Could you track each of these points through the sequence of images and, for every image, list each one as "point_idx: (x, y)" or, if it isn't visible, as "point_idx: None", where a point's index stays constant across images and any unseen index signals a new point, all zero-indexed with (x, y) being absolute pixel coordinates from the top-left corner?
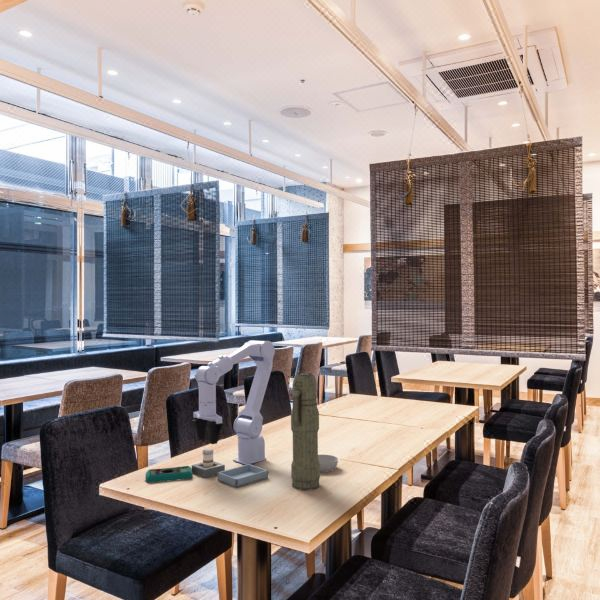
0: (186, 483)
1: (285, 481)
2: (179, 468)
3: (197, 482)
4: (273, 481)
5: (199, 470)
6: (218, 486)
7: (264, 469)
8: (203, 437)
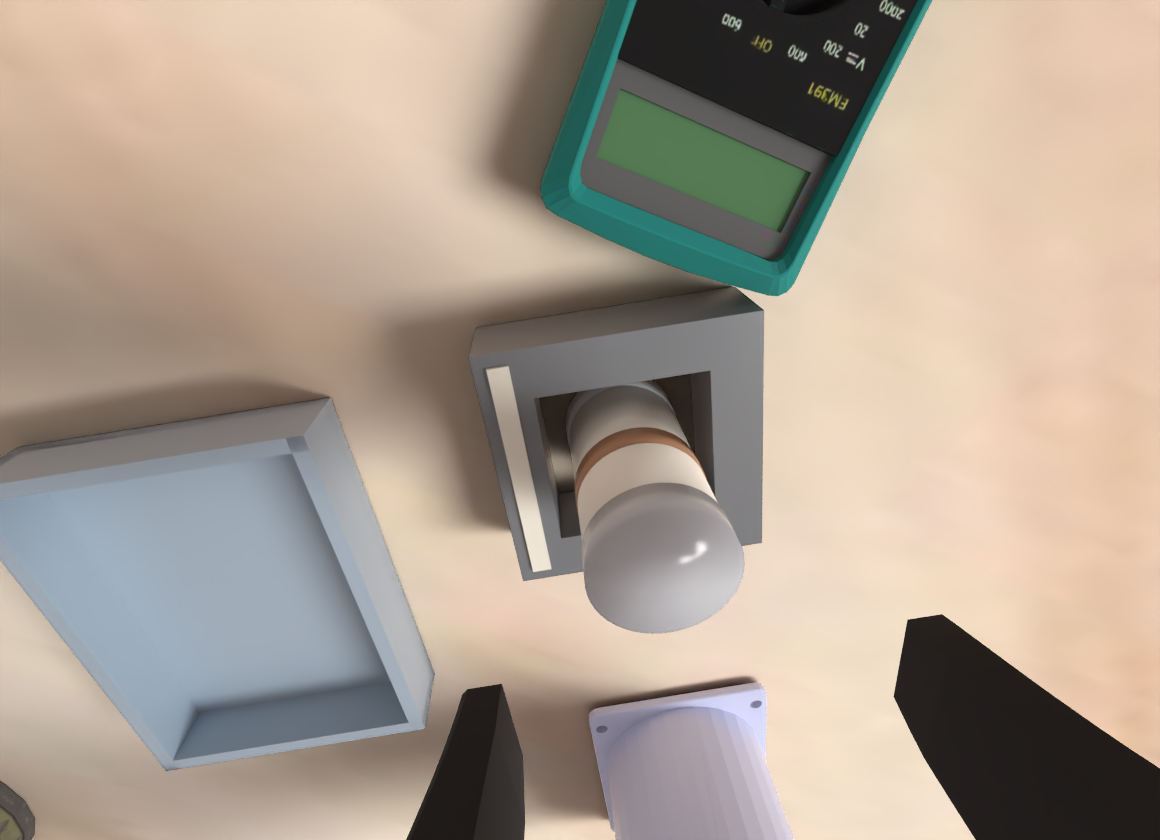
0: (396, 52)
1: (67, 760)
2: (799, 135)
3: (366, 191)
4: (98, 710)
5: (583, 329)
6: (121, 325)
7: (204, 760)
8: (919, 717)
